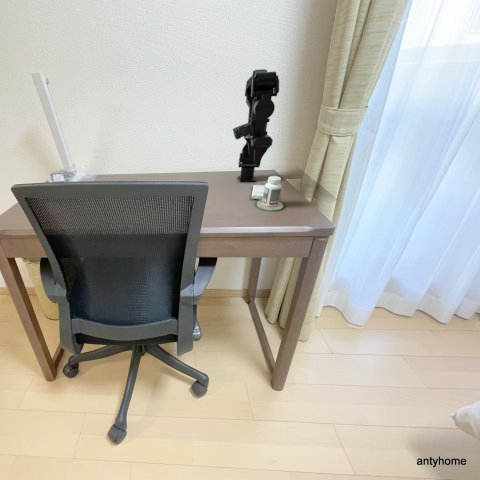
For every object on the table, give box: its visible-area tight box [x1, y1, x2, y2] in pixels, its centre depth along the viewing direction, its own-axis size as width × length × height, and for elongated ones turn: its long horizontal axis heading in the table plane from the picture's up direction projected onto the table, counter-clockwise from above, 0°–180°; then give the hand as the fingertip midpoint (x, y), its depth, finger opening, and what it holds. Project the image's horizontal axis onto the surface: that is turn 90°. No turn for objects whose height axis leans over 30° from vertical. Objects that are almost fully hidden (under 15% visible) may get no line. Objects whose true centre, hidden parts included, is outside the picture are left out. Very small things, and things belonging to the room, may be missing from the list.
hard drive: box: [251, 184, 265, 200], centre depth 101 cm, size 2×8×12 cm
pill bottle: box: [262, 175, 282, 207], centre depth 90 cm, size 5×5×10 cm
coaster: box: [256, 199, 284, 212], centre depth 93 cm, size 9×9×1 cm
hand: (253, 160), depth 97 cm, fingers open, 9 cm apart
